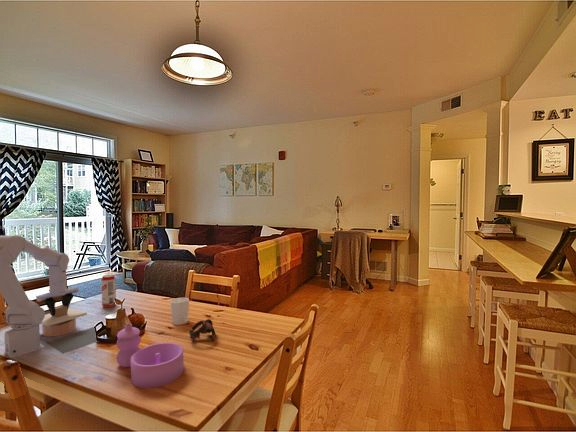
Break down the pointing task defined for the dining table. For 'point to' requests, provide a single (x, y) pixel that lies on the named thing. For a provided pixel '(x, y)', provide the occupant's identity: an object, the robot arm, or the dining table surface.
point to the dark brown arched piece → (202, 329)
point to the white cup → (179, 310)
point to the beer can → (108, 291)
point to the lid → (62, 315)
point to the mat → (74, 340)
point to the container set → (149, 359)
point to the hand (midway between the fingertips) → (59, 313)
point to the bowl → (59, 328)
